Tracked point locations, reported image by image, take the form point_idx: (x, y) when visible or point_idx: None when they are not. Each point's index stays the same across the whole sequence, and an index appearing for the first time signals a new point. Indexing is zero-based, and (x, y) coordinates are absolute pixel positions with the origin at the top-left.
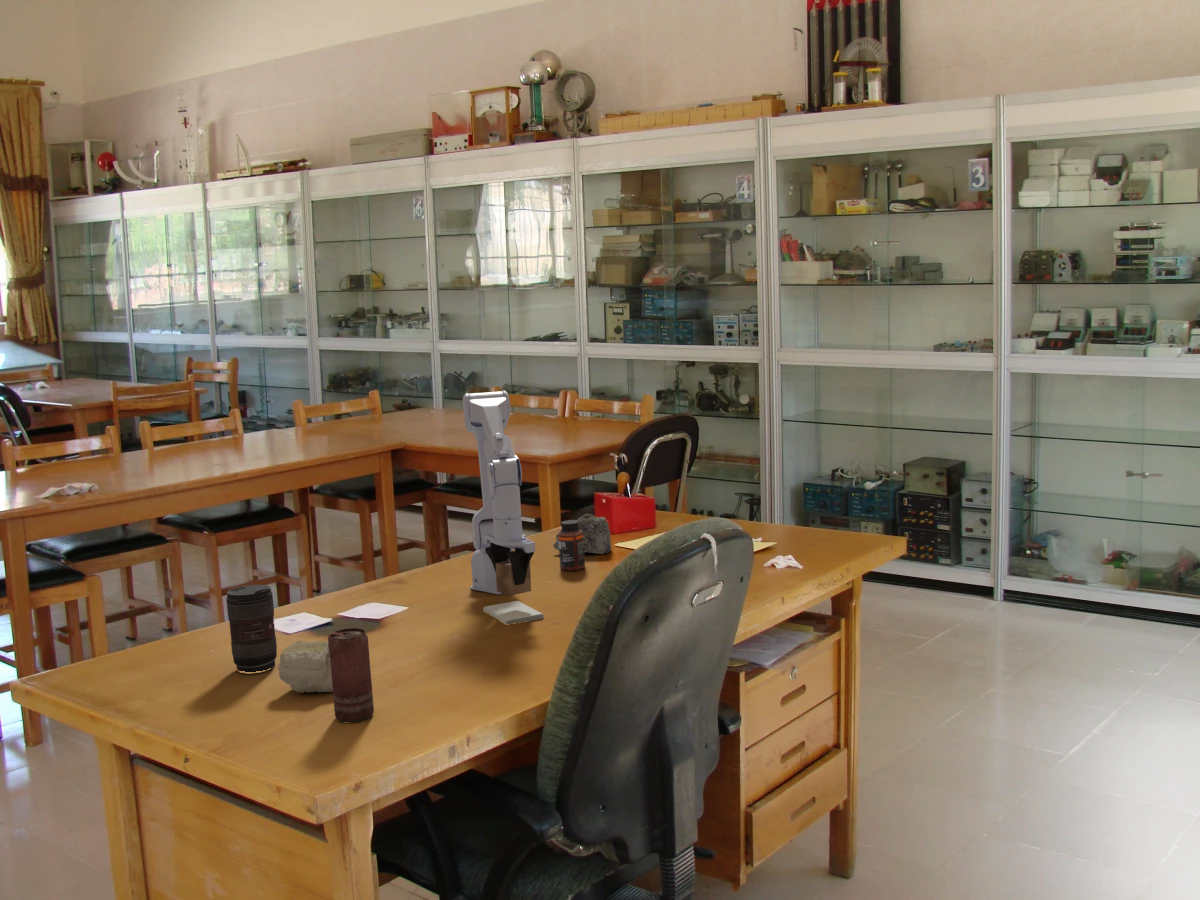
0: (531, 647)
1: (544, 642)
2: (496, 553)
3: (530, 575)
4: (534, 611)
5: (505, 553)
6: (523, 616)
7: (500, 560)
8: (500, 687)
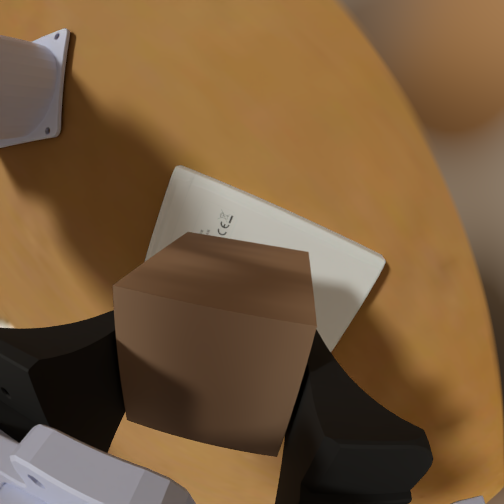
0: (454, 421)
1: (470, 393)
2: (94, 447)
3: (311, 281)
4: (341, 257)
5: (85, 384)
6: (342, 321)
7: (114, 394)
8: (457, 497)
